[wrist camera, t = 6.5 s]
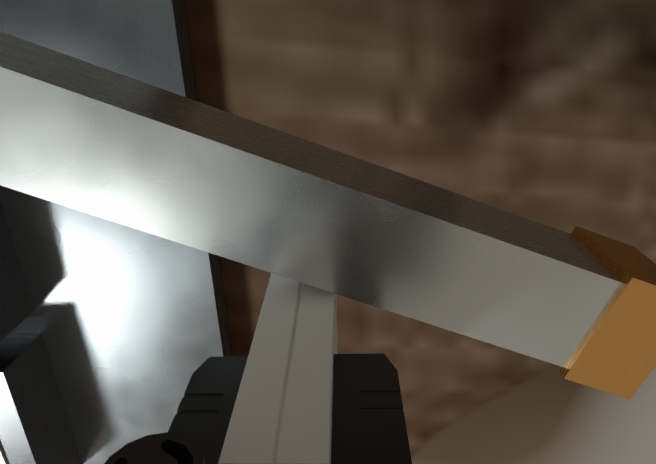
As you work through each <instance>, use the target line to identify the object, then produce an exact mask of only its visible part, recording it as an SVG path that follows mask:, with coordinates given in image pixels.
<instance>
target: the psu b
mask: <svg viewBox="0 0 656 464" xmlns="http://www.w3.org/2000/svg"><path fill="white" fill-rule="evenodd" d="M0 464H82V461H81V457H80V454H79V451H78V448H77V445H76V441H75V438H74V435H73V432H72V429H71V425H70V422H69V419H68V416H67V413H66V409H65V406H64V403H63V400H62V396H61V393H60V390H59V387H58V384H57V380H56V377H55V374H54V371H53V368H52V364H51V361H50V358H49V355H48V352H47V348H46V345H45V342H44V339H43V336H42V332H11V333H10V334H9V335H8V336H7V337H5V338H4V339H3V340H2V341H1V342H0Z"/></svg>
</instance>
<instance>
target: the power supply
mask: <svg viewBox="0 0 656 464" xmlns="http://www.w3.org/2000/svg"><path fill="white" fill-rule="evenodd" d="M33 311H34V307H33V303H32V300H31V297H30V294H29V291H28V287H27V284H26V281H25V278H24V275H23V271H22V268H21V265H20V262H19V259H18V255H17V252H16V249H15V246H14V243H13V239H12V236H11V233H10V230H9V226H8V223H7V220H6V217H5V214H4V210H3V207H2V204H1V201H0V342H1V341H2V340H3V339H4V338H5V337H7V336H8V335H9V334H10V333H11V332H12V331H13V330H14V329H15V328H16V327H17V326H18V325H19V324H20V323H21V322H22V321H23V320H24V319H26V318H27V317H28V316H29V315H30V314H31V313H32V312H33Z"/></svg>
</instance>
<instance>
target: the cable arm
mask: <svg viewBox="0 0 656 464" xmlns="http://www.w3.org/2000/svg"><path fill="white" fill-rule="evenodd" d="M0 185H1V186H4V187H7V188H10V189H13V190H16V191H19V192H23V193H26V194H29V195H32V196H35V197H38V198H41V199H44V200H47V201H50V202H54V203H57V204H60V205H63V206H66V207H69V208H72V209H75V210H78V211H81V212H85V213H88V214H91V215H94V216H97V217H100V218H103V219H106V220H109V221H112V222H115V223H119V224H122V225H125V226H128V227H131V228H134V229H137V230H140V231H143V232H146V233H150V234H153V235H156V236H159V237H162V238H165V239H168V240H171V241H174V242H177V243H181V244H184V245H187V246H190V247H193V248H196V249H199V250H202V251H205V252H208V253H211V254H215V255H218V256H221V257H224V258H227V259H230V260H233V261H236V262H239V263H242V264H246V265H249V266H252V267H255V268H258V269H261V270H264V271H267V272H270V273H273V274H276V275H280V276H283V277H286V278H289V279H292V280H295V281H298V282H301V283H304V284H307V285H311V286H314V287H317V288H320V289H323V290H326V291H329V292H332V293H335V294H338V295H342V296H345V297H348V298H351V299H354V300H357V301H360V302H363V303H366V304H369V305H372V306H376V307H379V308H382V309H385V310H388V311H391V312H394V313H397V314H400V315H403V316H407V317H410V318H413V319H416V320H419V321H422V322H425V323H428V324H431V325H434V326H438V327H441V328H444V329H447V330H450V331H453V332H456V333H459V334H462V335H465V336H468V337H472V338H475V339H478V340H481V341H484V342H487V343H490V344H493V345H496V346H499V347H503V348H506V349H509V350H512V351H515V352H518V353H521V354H524V355H527V356H530V357H534V358H537V359H540V360H543V361H546V362H549V363H552V364H555V365H556V366H557V368H558V370H559V371H560V373H561V374H562V376H563V378H564V379H567V380H570V381H574V382H577V383H580V384H583V385H586V386H590V387H593V388H595V389H599V390H602V391H605V392H608V393H611V394H614V395H617V396H620V397H624V398H627V399H631V397H632V396H633V395H634V393H635V392H636V391H637V389H638V388H639V387H640V386H641V384H642V383H643V382H644V380H645V379H646V378H647V376H648V375H649V374H650V372H651V371H652V370H653V369H654V367H655V366H656V264H655V263H654V262H653V261H651V260H650V259H649V258H648V257H646V256H645V255H644V254H643V253H641V252H640V251H639V250H638V249H636V248H635V247H633V246H631V245H628V244H625V243H622V242H619V241H617V240H614V239H611V238H608V237H605V236H603V235H600V234H597V233H594V232H591V231H589V230H586V229H583V228H580V227H577V226H575V228H574V230H573V231H572V233H571V234H570V233H567V232H564V231H561V230H558V229H556V228H553V227H550V226H547V225H544V224H542V223H539V222H536V221H533V220H530V219H527V218H525V217H522V216H519V215H516V214H513V213H511V212H508V211H505V210H502V209H499V208H496V207H494V206H491V205H488V204H485V203H482V202H480V201H477V200H474V199H471V198H468V197H465V196H463V195H460V194H457V193H454V192H451V191H449V190H446V189H443V188H440V187H437V186H434V185H432V184H429V183H426V182H423V181H420V180H418V179H415V178H412V177H409V176H406V175H403V174H401V173H398V172H395V171H392V170H389V169H387V168H384V167H381V166H378V165H375V164H372V163H370V162H367V161H364V160H361V159H358V158H356V157H353V156H350V155H347V154H344V153H341V152H339V151H336V150H333V149H330V148H327V147H325V146H322V145H319V144H316V143H313V142H310V141H308V140H305V139H302V138H299V137H296V136H294V135H291V134H288V133H285V132H282V131H279V130H277V129H274V128H271V127H268V126H265V125H263V124H260V123H257V122H254V121H251V120H248V119H246V118H243V117H240V116H237V115H234V114H232V113H229V112H226V111H223V110H220V109H217V108H215V107H212V106H209V105H206V104H203V103H201V102H198V101H195V100H192V99H189V98H186V97H184V96H181V95H178V94H175V93H172V92H170V91H167V90H164V89H161V88H158V87H155V86H153V85H150V84H147V83H144V82H141V81H139V80H136V79H133V78H130V77H127V76H124V75H122V74H119V73H116V72H113V71H110V70H108V69H105V68H102V67H99V66H96V65H93V64H91V63H88V62H85V61H82V60H79V59H77V58H74V57H71V56H68V55H65V54H62V53H60V52H57V51H54V50H51V49H48V48H46V47H43V46H40V45H37V44H34V43H31V42H29V41H26V40H23V39H20V38H17V37H15V36H12V35H9V34H6V33H3V32H0Z"/></svg>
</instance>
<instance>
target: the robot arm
mask: <svg viewBox="0 0 656 464" xmlns="http://www.w3.org/2000/svg"><path fill="white" fill-rule="evenodd" d="M104 464H412V461H411V455H410V449H409V442H408V436H407V430H406V423H405V417H404V412H403V404H402V398H401V394H400V385H399V379H398V373H397V370H396V368H395V367H394V366H393V365H392V363H391V362H390V361H389V359H388V358H387V357H386V356H385V354H337V306H336V294H335V293H332V292H329V291H326V290H323V289H320V288H317V287H314V286H311V285H307V284H304V283H301V282H298V281H295V280H292V279H289V278H286V277H283V276H280V275H276V274H273V273H271V276H270V280H269V283H268V287H267V290H266V294H265V298H264V301H263V305H262V308H261V312H260V315H259V319H258V323H257V326H256V330H255V333H254V337H253V341H252V344H251V348H250V351H249V355H248V356H236V357H209V358H208V359H207V360H206V361H205V362H204V363H203V364H202V365H201V366H200V367H199V368H198V369H197V370H196V371H195V372H194V373H193V374H192V376H191V378H190V381H189V383H188V385H187V388H186V390H185V393H184V398H182V400H181V402H180V404H179V407H178V409H177V415H175V416H174V419H173V421H172V423H171V426H170V428H169V430H168V433H167V432H166V433H159V434H152V435H147V436H144V437H142V438H139V439H137V440H135V441H132V442H130V443H127V444H126V445H125V446H123V447H122V448H121V449H119V450H118V451H117V452H115V453H114V454H113V455H111V456H110V457H109V458H108V460H107V461H106V462H105V463H104Z"/></svg>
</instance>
